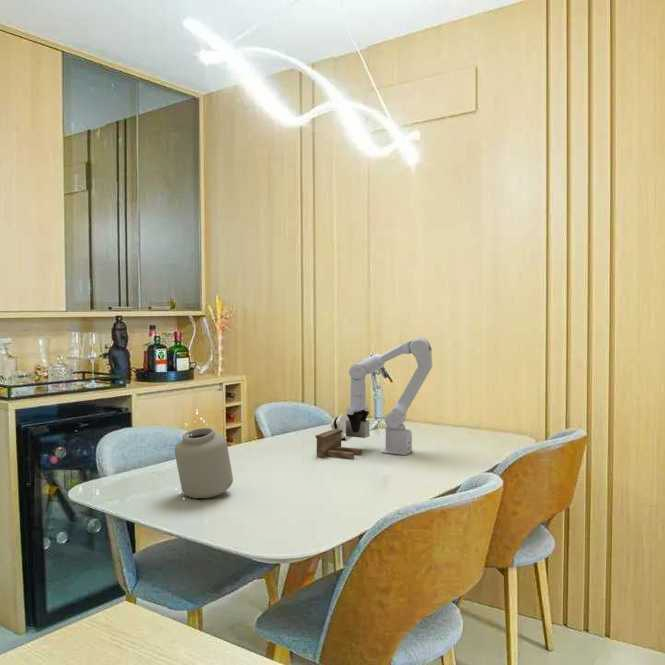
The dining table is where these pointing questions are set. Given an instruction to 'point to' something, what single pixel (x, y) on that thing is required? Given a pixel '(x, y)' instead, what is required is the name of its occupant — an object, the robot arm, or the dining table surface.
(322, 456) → the brown panel with bars
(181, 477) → the jar
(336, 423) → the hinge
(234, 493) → the dining table surface
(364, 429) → the grey rectangular block
